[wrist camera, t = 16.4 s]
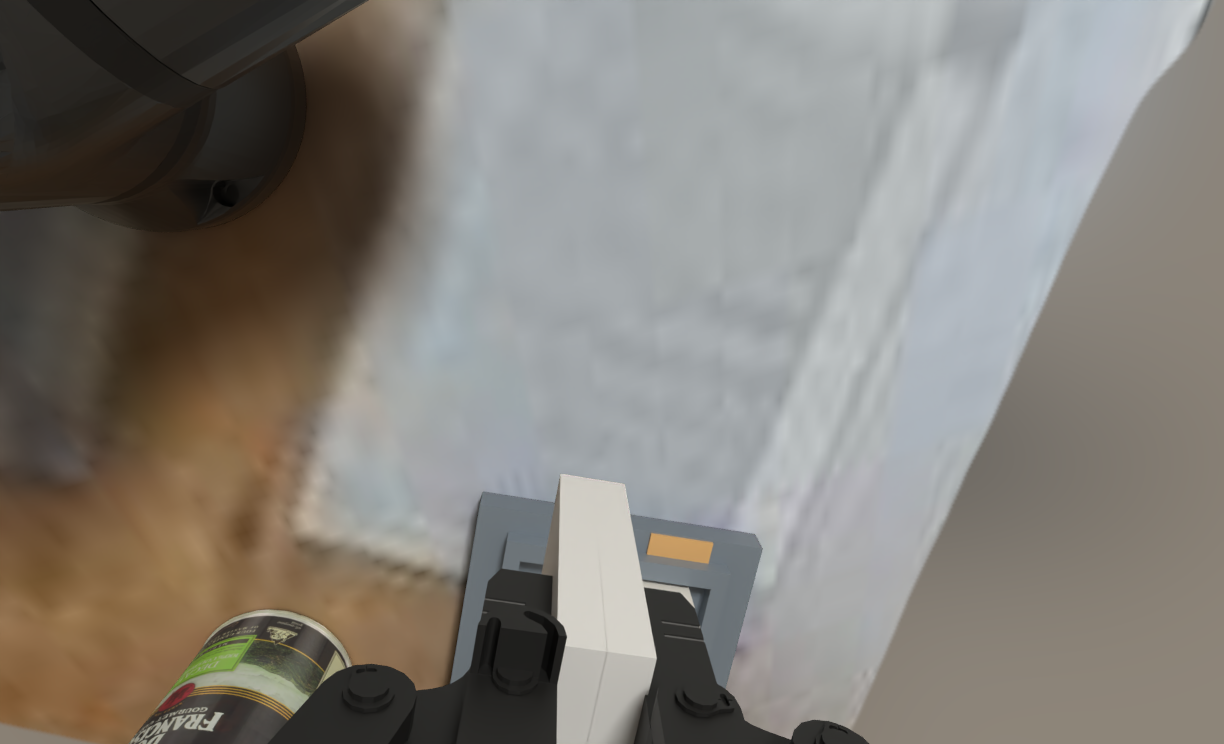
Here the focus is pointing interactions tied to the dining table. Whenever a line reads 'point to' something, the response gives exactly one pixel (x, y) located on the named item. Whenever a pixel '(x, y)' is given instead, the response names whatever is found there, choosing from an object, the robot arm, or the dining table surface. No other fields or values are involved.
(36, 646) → the dining table surface
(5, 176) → the robot arm
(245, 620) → the coffee can
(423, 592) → the dining table surface
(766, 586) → the dining table surface
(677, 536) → the switch board
